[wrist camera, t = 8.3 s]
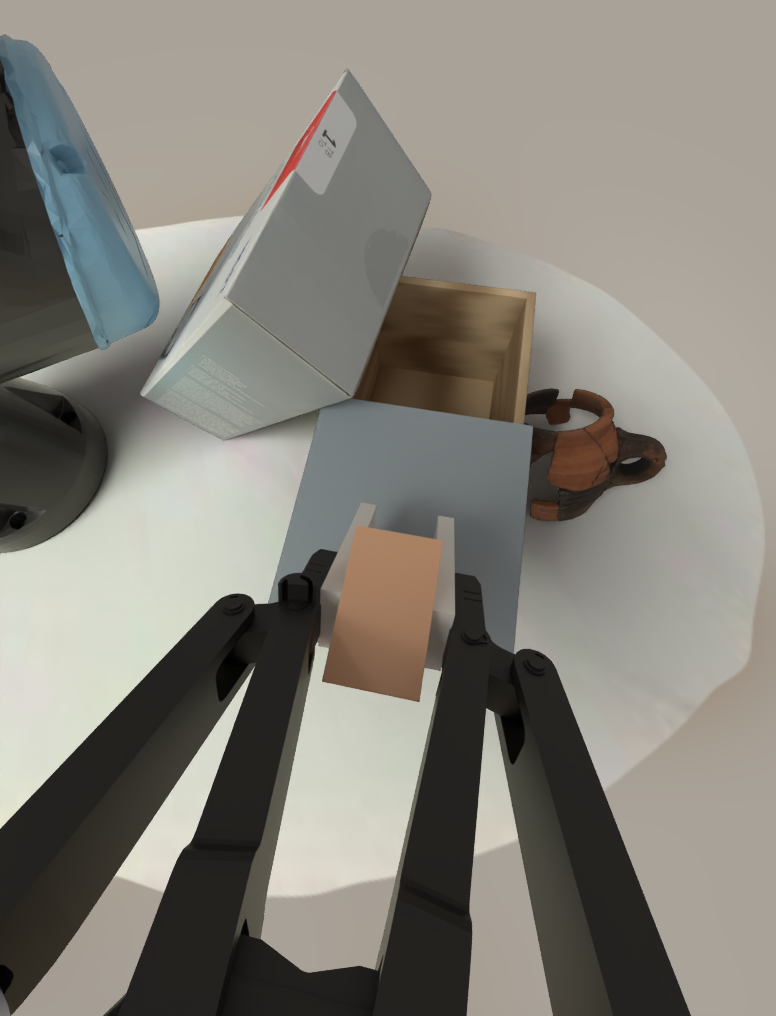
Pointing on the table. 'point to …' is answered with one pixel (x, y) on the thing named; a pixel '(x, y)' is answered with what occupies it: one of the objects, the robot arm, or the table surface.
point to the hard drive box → (299, 279)
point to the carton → (453, 350)
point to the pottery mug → (586, 453)
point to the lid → (408, 530)
